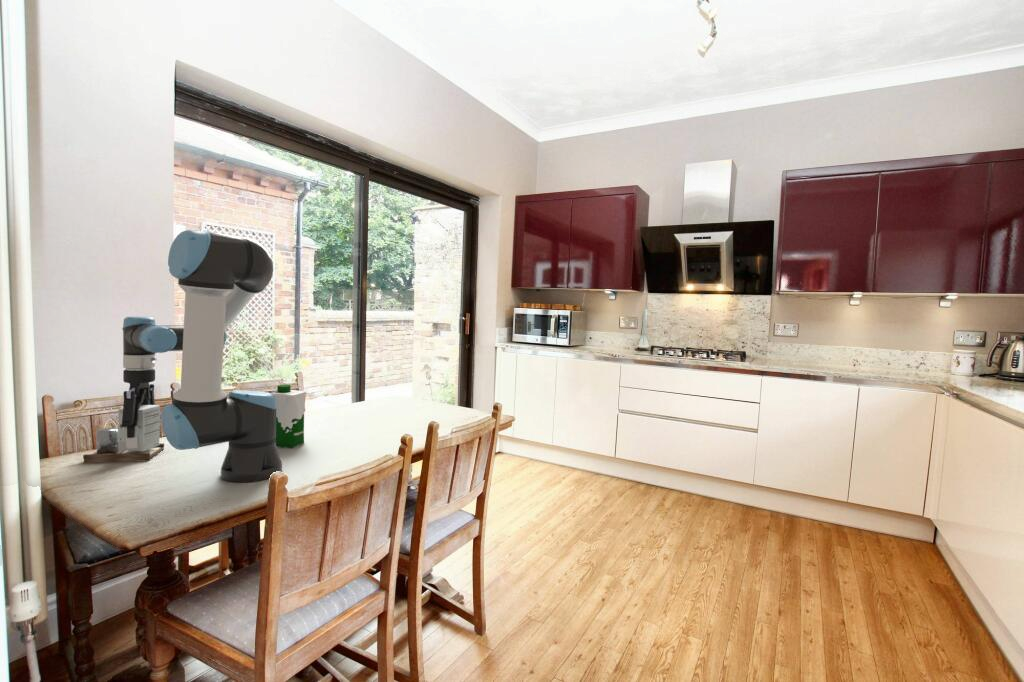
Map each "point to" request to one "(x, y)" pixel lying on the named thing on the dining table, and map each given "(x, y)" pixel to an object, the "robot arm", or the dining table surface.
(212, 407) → the robot arm
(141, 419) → the supplement box
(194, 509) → the dining table surface
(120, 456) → the wooden tray
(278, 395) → the milk carton
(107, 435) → the grey rounded cube
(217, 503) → the dining table surface
